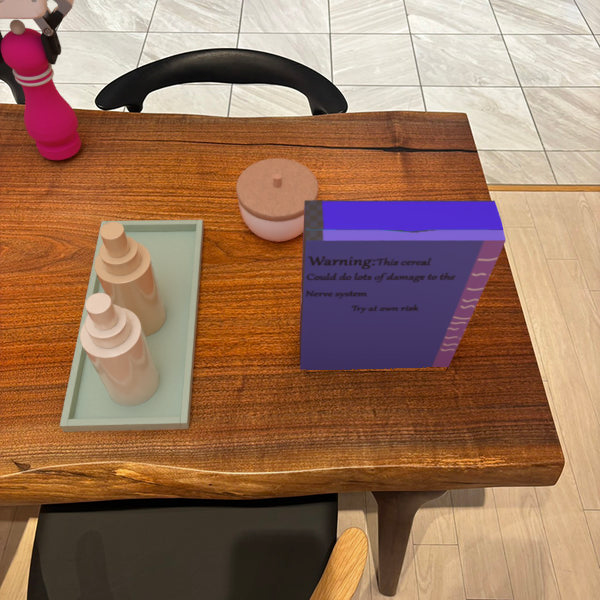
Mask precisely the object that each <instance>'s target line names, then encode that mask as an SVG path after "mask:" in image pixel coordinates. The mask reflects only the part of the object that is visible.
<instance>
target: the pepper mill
mask: <svg viewBox="0 0 600 600" xmlns="http://www.w3.org/2000/svg"><path fill="white" fill-rule="evenodd" d="M9 29H10V30H9V31H8V32H6V34H4V36H2V37H3V39H2V41H1V53H2V57H3V59H4V61H3V62H4V63H5V64H6V65H7V66H8V67H10V68H11V69H12V74H13V76H14V79H15V81H16V82H17V84H19V85H21V88H22V90H23V93H24V99H25V101H24V111H23V122H24V126H25V129H26V132H27V134H28V135H29V136H30V138H32V140H34V141H35V145H36V148H37V150H38V153H39V154H40V156H42V157H43V158H45V159H47V160H51V161H62V160H66V159H69V158H72V157H73V156H75V155H76V154H77V153H78V152H79V151H80V149H81V147H82V140H81V137H80V134H79V131H78V127H79V119H78V117H77V114H76V112H75V110H74V109H73V106H71V105H70V103H69V102H68V101H67V100H66V99H65V98H64V96H62V95H61V94H60V92H59V90H58V89H57V87H56V85H55V82H54V79H53V78H54V75H55V71H54V69H53V65H51V64H50V63H48V60H47V57H46V54H45V51H44V47H43V44H42V41H41V34H42V32H39V31H38V30H36V29H33V28H30V27H26V24H25V23H24V22H23V21H22V20H21V19H12V20H11V21H10V23H9Z"/></svg>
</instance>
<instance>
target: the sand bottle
mask: <svg viewBox="0 0 600 600" xmlns="http://www.w3.org/2000/svg"><path fill="white" fill-rule="evenodd" d="M99 231H100V235H101V238H102V240H103V244H102V245H101V247H100V250H99V254H98V255H97V257H96V260H95V264H94V266H95V271H96V274H97V276H98V278H99V281H100V283H101V286H102V288H103V291H104V293H105V294H107V295H108V296H109V297H110V298H111V300H112V303H113V304H114V305H117V306H119V307H121V308H125V309H128V310H130V311H131V312H133V313H134V314H135V315H136V316H137V317H138V319H139V321H140V323H141V326H142V329H143V331H144V334H145V337H147V336H150V335H152V334H154V333H156V332H157V331H158V330H159V329H160V328H161V327H162V326H163V324H164V322H165V320H166V309H165V306H164V302H163V299H162V295H161V292H160V288H159V285H158V281H157V278H156V274H155V270H154V267H153V263H152V260H151V256H150V253H149V251H148V250H147V248H146V247H144V246H143V245H142V244H140V243H138V242H136V241H135V240H134V239H132V238H131V237H128V236H126V233H125V230H124V227H123V225H122V224H120V223H118V222H109V223H106V224H105V225H103V226H102V227H101V229H100V228H99Z"/></svg>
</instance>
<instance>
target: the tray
mask: <svg viewBox="0 0 600 600" xmlns="http://www.w3.org/2000/svg"><path fill="white" fill-rule="evenodd" d="M109 222H118V223H120V224H122V225H123V227H124V230H125V233H126V236H128V237H131V238H132V239H134V240H135V241H136V242H138V243H140V244H142V245H143V246H144V247H146V248H147V250H148V251H149V253H150V256H151V260H152V263H153V267H154V270H155V274H156V278H157V281H158V285H159V288H160V292H161V295H162V299H163V302H164V306H165V309H166V320H165V322H164V324H163V326H162V327H161V328H160V329H159V330H158V331H157V332H156V333H154V334H152V335H150V336H147V337H146V340H147V343H148V346H149V348H150V351H151V354H152V357H153V360H154V363H155V365H156V368H157V371H158V374H159V385H158V388H157V390H156V392H155V393H154V395H153V396H152V397H151V398H150V399H149V400H147V401H146V402H144V403H142V404H139V405H136V406H122V405H119V404H117V403H115V402H114V401H113V400H111V398H110V397H109V396H108V394H107V392H106V390H105V388H104V386H103V384H102V382H101V380H100V379H99V377H98V375H97V373H96V371H95V369H94V367H93V365H92V363H91V362H90V360H89V358H88V356H87V354H86V352H85V350H84V348H83V346H82V344H81V341H80V332H81V329H82V326H83V325H84V323H85V320H86V318H87V316H88V312H87V310H86V308H85V303H86V300H87V299H88V298H89V297H90V296H91V295H93V294H96V293H104V291H103V288H102V286H101V283H100V281H99V278H98V276H97V274H96V271H95V266H94V264H95V260H96V257H97V255H98V254H99V250H100V247H101V245H102V244H103V240H102V238H101V235H100V229H101V227H102V226H103V225H105V224H106V223H109ZM99 227H100V228H99V231H98V237H97V241H96V246H95V252H94V255H93V260H92V265H91V271H90V275H89V281H88V286H87V289H86V290H87V291H86V295H85V299H84V303H83V304H84V305H83V310H82V315H81V319H80V324H79V328H78V332H77V333H78V334H77V339H76V344H75V349H74V353H73V359H72V363H71V367H70V374H69V378H68V381H67V388H66V393H65V397H64V402H63V406H62V407H63V408H62V410H61V411H62V412H61V417H60V422H59V427H60V429H61V431H62V432H64V433H72V432H73V433H74V432H111V431H113V432H114V431H151V430H153V431H155V430H189V429H190V423H191V422H190V421H191V408H192V394H193V393H192V392H193V379H194V369H195V368H194V367H195V355H196V340H197V325H198V313H199V298H200V285H201V272H202V259H203V258H202V257H203V246H204V233H205V232H204V231H205V226H204V220H203V219H155V220H153V219H151V220H150V219H149V220H147V219H146V220H101V222H100V226H99Z"/></svg>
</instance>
